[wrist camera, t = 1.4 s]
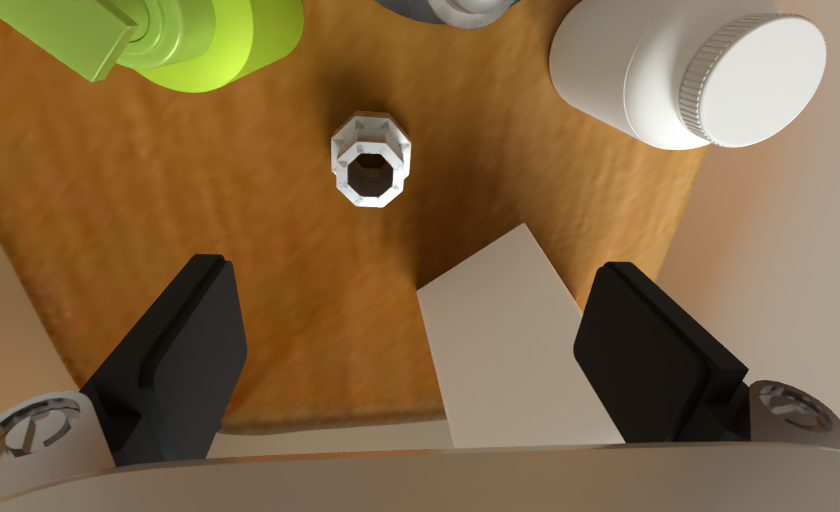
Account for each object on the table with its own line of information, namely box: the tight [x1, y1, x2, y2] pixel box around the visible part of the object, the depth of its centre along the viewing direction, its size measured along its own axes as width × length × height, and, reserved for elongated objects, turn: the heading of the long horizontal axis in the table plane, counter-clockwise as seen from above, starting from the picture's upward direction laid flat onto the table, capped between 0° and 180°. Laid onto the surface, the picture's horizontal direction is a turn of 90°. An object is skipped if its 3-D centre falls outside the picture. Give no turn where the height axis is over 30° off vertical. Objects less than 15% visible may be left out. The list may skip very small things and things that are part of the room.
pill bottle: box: [549, 0, 826, 150], centre depth 23 cm, size 8×8×15 cm
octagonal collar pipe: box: [331, 110, 411, 207], centre depth 29 cm, size 6×6×6 cm
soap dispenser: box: [0, 0, 304, 93], centre depth 18 cm, size 6×7×20 cm
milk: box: [416, 223, 625, 448], centre depth 30 cm, size 12×12×26 cm
